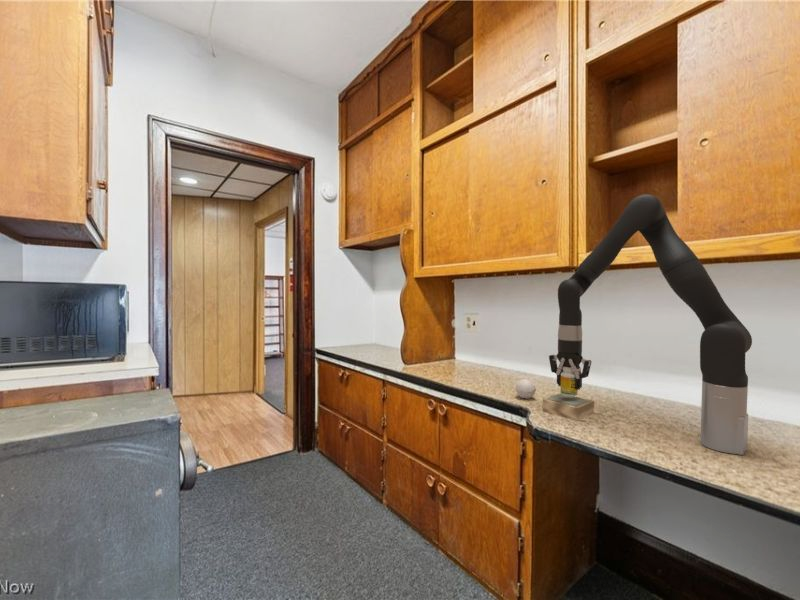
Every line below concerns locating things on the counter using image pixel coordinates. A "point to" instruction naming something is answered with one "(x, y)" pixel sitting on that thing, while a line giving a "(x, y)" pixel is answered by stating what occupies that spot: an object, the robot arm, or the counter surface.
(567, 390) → the supplement bottle
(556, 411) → the oak riser
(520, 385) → the white egg shape
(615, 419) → the counter surface
